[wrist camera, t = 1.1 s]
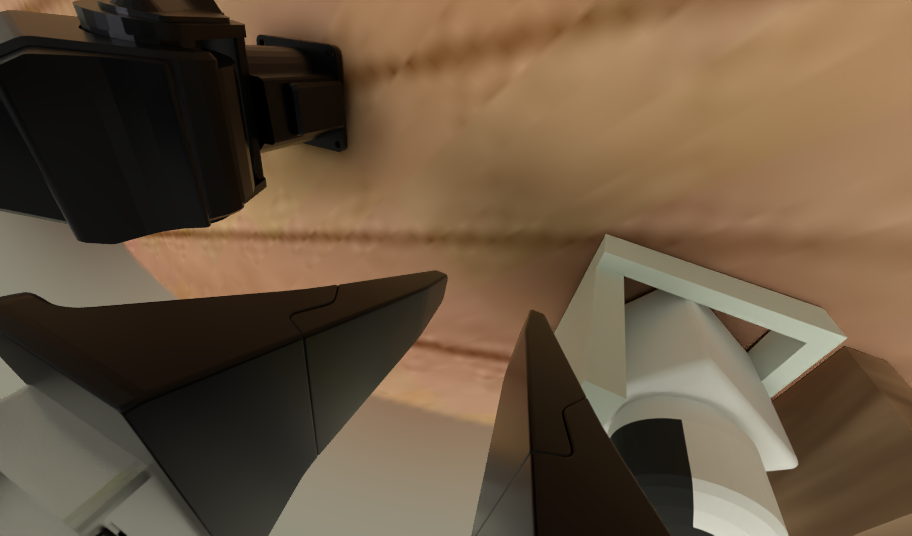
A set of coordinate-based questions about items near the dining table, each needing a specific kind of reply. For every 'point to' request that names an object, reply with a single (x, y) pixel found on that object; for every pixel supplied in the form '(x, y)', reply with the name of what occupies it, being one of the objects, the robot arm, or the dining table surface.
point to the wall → (847, 450)
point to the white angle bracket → (602, 299)
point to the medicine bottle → (698, 422)
